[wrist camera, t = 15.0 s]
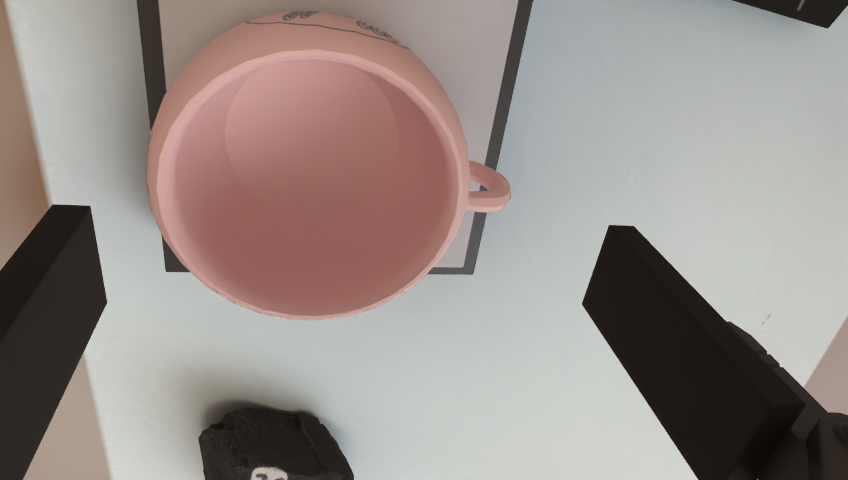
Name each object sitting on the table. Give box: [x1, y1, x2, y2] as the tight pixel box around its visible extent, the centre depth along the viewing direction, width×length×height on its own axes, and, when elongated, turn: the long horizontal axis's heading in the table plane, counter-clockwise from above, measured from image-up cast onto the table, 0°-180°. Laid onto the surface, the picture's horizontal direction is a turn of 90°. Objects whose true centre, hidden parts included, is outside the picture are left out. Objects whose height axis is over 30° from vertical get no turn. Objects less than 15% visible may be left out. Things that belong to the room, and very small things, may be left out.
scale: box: [137, 0, 533, 274], centre depth 24 cm, size 14×14×3 cm
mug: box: [146, 11, 511, 320], centre depth 20 cm, size 12×10×6 cm
